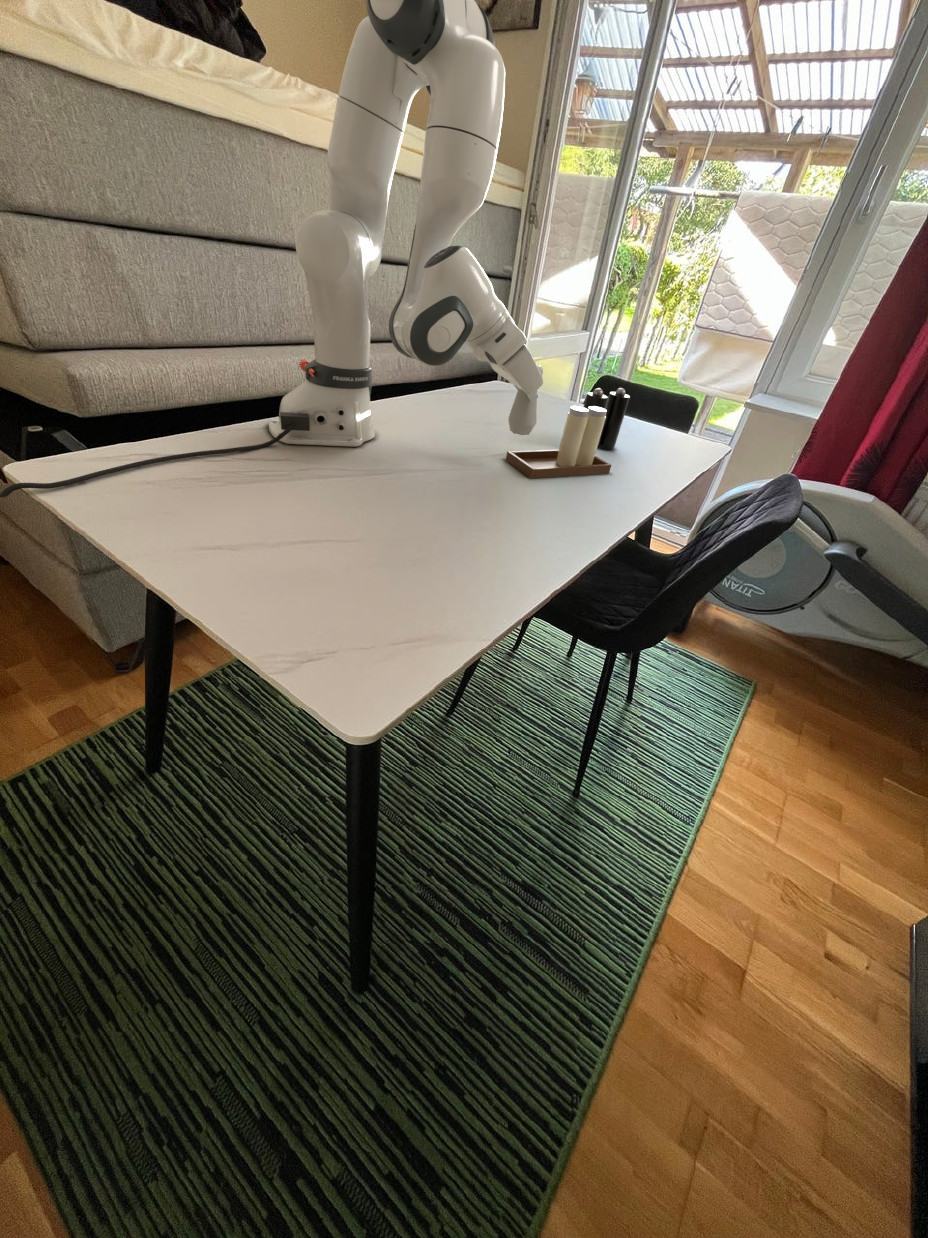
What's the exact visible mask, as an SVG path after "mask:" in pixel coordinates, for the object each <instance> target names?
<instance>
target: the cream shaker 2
mask: <svg viewBox="0 0 928 1238" xmlns="http://www.w3.org/2000/svg"><path fill="white" fill-rule="evenodd" d="M588 410H589V413H588V420H587V423H586V427H585V431H584V435H583V438H582V442H581V446H580V449H579V453H578V457H577V460H576V465H579V466H580V465H592V463H593V460H594V457H595V456H596V453H597V449H598V448H597V446H598V443H599V439H600V436H601V433H602V429H603V426H604V422H605V419H606V416H605V415H606V412H607V410H605V409H603V408H600V407H595V406H590V407H589V408H588Z"/></svg>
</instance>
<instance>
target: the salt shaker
mask: <svg viewBox="0 0 928 1238" xmlns="http://www.w3.org/2000/svg"><path fill="white" fill-rule="evenodd" d="M537 366H538V369H539V371H540V373H541V375H542V376H543V373H544V368H543V367H542V366H541V365H539V364H537ZM536 393H537V394H538V390H536ZM537 410H538V398H537V399H536V400H535V401H534V402H530V401H529V399H528V398H527V397H526V395H525V393H524V392H523V391H522V390H520V389H518V390H517V392H516V395H515V398H514V401H513V404H512V406H511V409H510V412H509V415H508V420H507V422H508V426H509V431H510V432H511V433H512V434H516V435H519V436H530V434H531V433H532V431H533V429H534V428H535V426H536V424H537V418H538V417H537V416H538V415H537V413H538V412H537Z"/></svg>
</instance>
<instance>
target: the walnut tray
mask: <svg viewBox="0 0 928 1238" xmlns="http://www.w3.org/2000/svg"><path fill="white" fill-rule="evenodd" d="M558 451H559V449H537V450H536V449H534V450H533V449H532V450H508V451H506V456H505V461H506V462H508V463H509V464H510V465H512V466H513V467H514V468H516V469H517V470H519V471H520V472H521V473H523V474H524V475H525V476H527V477H528V478H530V479H544V478H545V479H547V478H560V477H562V478H563V477H578V476H592V475H593V476H594V475H606V474H607V475H609V474H610V472H611V469H612V464H611V463H609V462H607V461H605V460H603V459H602V458H600V457H598V456H596V455H595V457H594V460H593V463H592V465H580V466H579V465H576V464H575V466H559V465H557V464H556V460H557V455H558Z"/></svg>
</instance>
